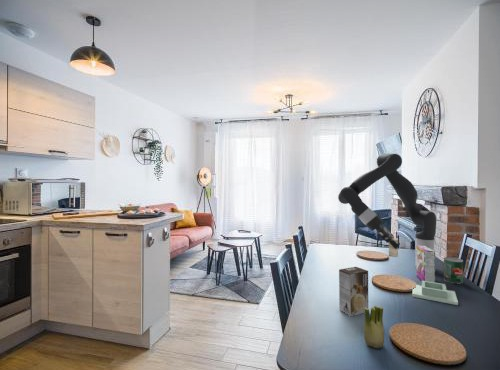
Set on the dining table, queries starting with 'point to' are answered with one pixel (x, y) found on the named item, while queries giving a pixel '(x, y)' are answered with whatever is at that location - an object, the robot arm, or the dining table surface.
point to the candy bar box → (425, 263)
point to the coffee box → (353, 290)
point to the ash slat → (393, 249)
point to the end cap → (435, 292)
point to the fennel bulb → (374, 327)
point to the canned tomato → (453, 270)
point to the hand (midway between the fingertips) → (398, 246)
